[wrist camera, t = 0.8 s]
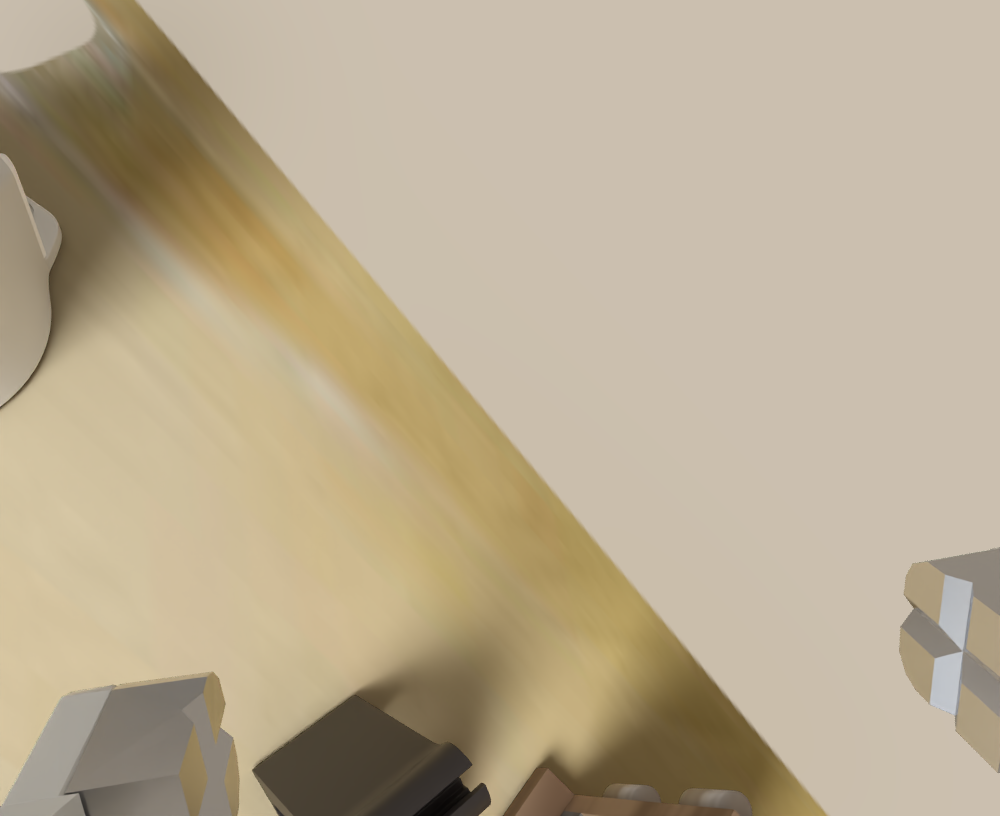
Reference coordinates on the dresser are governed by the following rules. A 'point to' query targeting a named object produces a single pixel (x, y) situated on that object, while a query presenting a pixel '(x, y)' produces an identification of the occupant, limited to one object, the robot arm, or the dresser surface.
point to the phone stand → (368, 770)
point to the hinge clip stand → (621, 801)
